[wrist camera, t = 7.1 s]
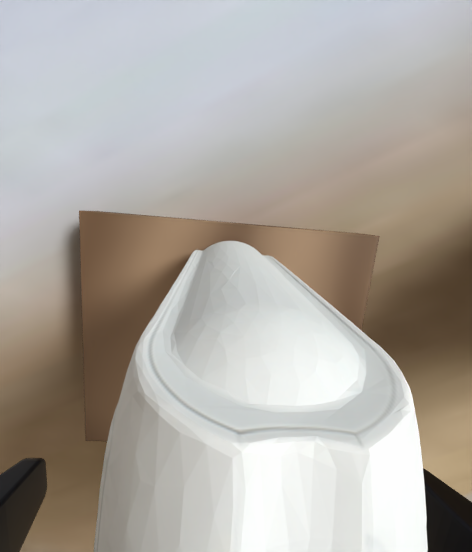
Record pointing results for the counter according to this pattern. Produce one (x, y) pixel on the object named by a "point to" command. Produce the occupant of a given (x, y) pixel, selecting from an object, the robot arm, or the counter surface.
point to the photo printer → (259, 424)
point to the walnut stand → (165, 270)
